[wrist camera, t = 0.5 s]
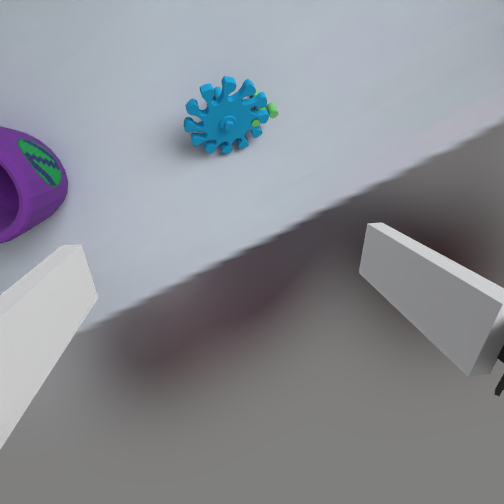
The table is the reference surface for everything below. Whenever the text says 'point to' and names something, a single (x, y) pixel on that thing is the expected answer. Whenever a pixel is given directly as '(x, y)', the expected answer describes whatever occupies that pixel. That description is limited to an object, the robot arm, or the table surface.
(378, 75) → the table surface
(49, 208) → the mug
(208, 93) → the gear
